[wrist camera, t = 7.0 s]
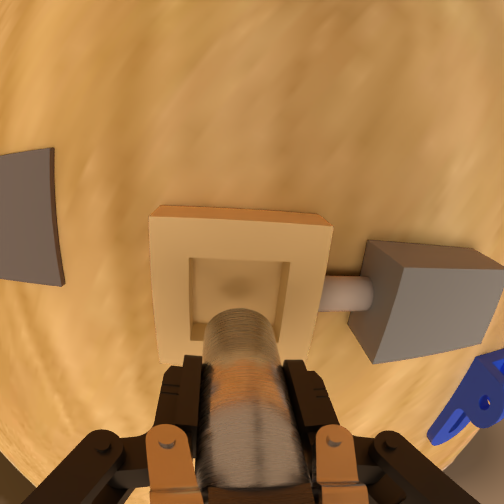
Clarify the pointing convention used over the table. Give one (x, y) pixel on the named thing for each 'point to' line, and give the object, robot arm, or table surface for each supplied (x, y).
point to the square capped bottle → (247, 417)
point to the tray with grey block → (312, 284)
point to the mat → (29, 219)
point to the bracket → (473, 399)
